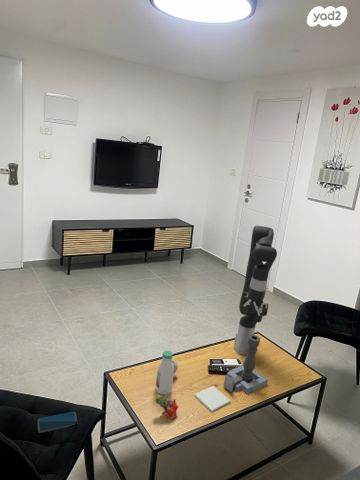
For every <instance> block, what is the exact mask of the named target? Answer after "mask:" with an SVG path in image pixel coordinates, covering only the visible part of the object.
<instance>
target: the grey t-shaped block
mask: <svg viewBox="0 0 360 480" xmlns="http://www.w3.org/2000/svg"><path fill="white" fill-rule="evenodd" d="M242 380H243V378H242V377H241V375H240V376H237V377H234V378H232V379H231V378H230V377H229V376H227V374H226V375H224V379H223V381H224V382H223V387H224V388H225V389H227V390H226V391H228V392H229V393H232V392H233V391H234V390H233V389H234V387H235V385H237V384H239V383H240V382H242Z"/></svg>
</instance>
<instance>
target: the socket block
mask: <svg viewBox="0 0 360 480" xmlns="http://www.w3.org/2000/svg"><path fill="white" fill-rule="evenodd" d="M243 370H244V366H243V364H241V365H239V366H237V367H235V368H233V369H230V371H228V372H227V373H226V375H227V376H229V377H230V378H231V379H232V378H234V377H237V376H241V373H242V371H243ZM252 372H253V381H252V382H250V383H246V382H245V381H242V382H240V383H239V384H237V385H235V386H234V391H236V392H238V391H240V390H241V391H243V392H244V393H245V395H246V394H250V393H253V392H255V391H258V389H259V390H260V389H261V388H262V387H264V386H266V385H268V382H269V379H268V378H267V377H266V376H264V374H261V373H260V372H259V371H257V370H256V368H255V369H254V370H253V371H252Z"/></svg>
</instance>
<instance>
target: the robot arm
mask: <svg viewBox="0 0 360 480" xmlns="http://www.w3.org/2000/svg"><path fill="white" fill-rule="evenodd" d="M274 233H275V232H274V229H273V228H271V227H270V226H269V227H268V226H263V225H254V227H253V228H252V234H251V241H250V248H249V249H250V251H249V255H248V261H247V266H246V272H245V279H244V284H243V289H242V292H241V297H240V300H239V304H238V305H239V312H240V314H241V315H243V316H241V317H240V319H239V322H238V323H239V324H238V329H237V333H235V337H234V344H233V349H234V351H235V352H236V353H237V354H239V355H242V356H247V353H248V350H247V347H248V346H249V345H248V338H249V335H255V331H256V325H257V323H260V322H262V320H263V317H266V316H268V311H269V310H268V309H269V303H265V302H264V299H265V295H266V290H267V286H268V278H269V273H270V270H271V268H272V266H273V264H274V263H275V261H276V258H277V256H278V252H277V249H276V248H275V247H273V246H272V245H273V242H274V236H275V234H274Z"/></svg>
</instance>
